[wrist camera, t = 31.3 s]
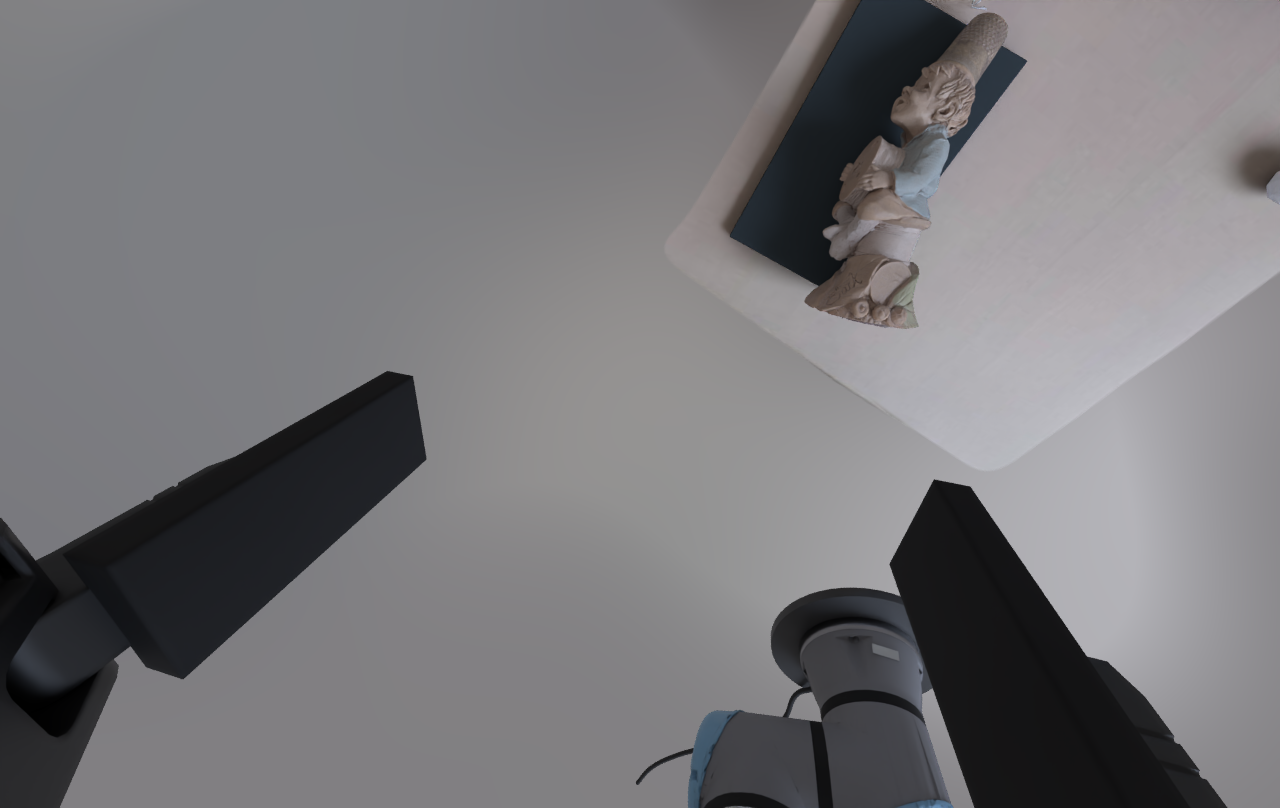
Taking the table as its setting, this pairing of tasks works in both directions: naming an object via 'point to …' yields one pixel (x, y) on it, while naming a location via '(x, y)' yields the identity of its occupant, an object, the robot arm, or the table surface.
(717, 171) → the table surface
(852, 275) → the figurine
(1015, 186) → the table surface
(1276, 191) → the polyhedron
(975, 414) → the table surface
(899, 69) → the mat
